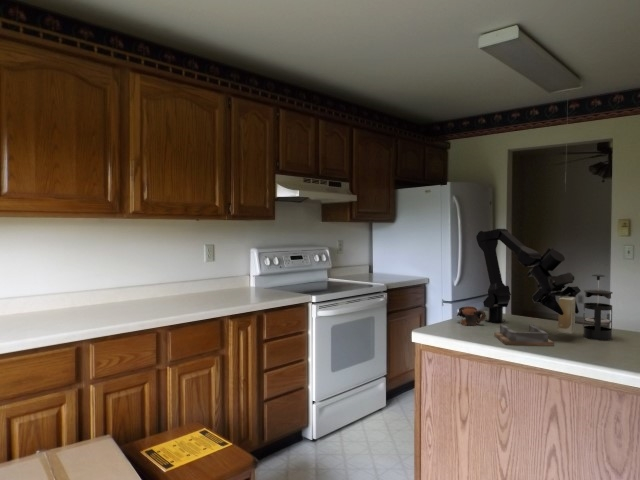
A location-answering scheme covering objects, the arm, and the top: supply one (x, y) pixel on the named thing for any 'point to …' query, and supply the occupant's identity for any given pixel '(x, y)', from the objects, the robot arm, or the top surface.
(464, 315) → the pottery mug
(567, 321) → the skincare box
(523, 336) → the rail holder
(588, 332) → the french press
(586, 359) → the top surface
